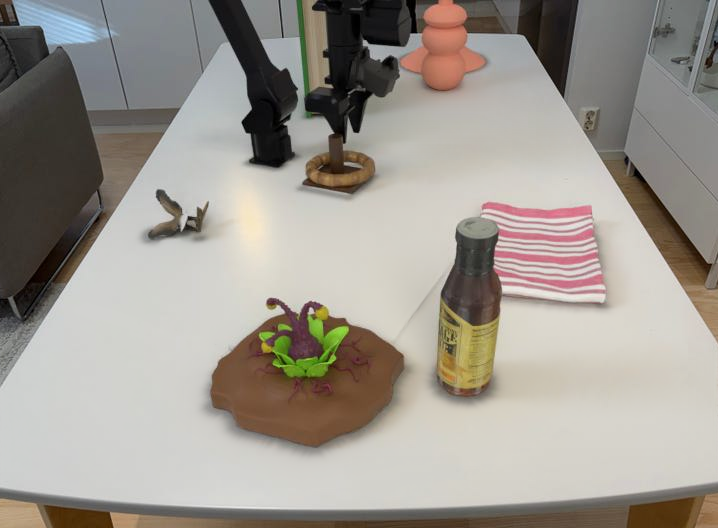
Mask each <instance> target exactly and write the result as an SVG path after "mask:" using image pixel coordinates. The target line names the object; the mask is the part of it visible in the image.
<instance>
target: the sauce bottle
mask: <svg viewBox="0 0 718 528" xmlns="http://www.w3.org/2000/svg"><path fill="white" fill-rule="evenodd" d="M498 237H499V227H498V226H497V224H496V223H495V222H494V221H492V220H490V219H486V218H482V217H480V216H474V217H473V216H472V217H467V218H464V219H462V220H460V221H459V222H458V223H457V224H456V228H455V235H454V238H455V242H456V246H455V247H456V248H455V258H454V262H453V265H452V267H451V269H450V271H449V274H448V276H447V278H446V280H445V282H444V284H443V286H442V288H441V290H440V298H439V313H438V331H437V347H436V348H437V349H436V351H437V352H436V372H437V374H436V375H437V376H436V377H437V382H438V383H439V385H440V386H441V387H442V388H443V389H444V390H446V392H448V393H449V394H451V395H453V396H462V397H471V396H476V395H478V394H482V393H483V392H484V391H486V390H487V389H488V387H489V385H490V381H491V378H492V375H493V372H494V371H493V370H494V365H495V356H496V349H497V341H498V333H499V326H500V318H501V301H502V296H503V295H502V286H501V282H500V279H499V276H498V274H497V273H496V272H495V270H494V269H493V267H494V264H495V262H494V254H495V245H496V244H497V242H498Z"/></svg>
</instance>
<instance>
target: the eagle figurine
mask: <svg viewBox="0 0 718 528" xmlns="http://www.w3.org/2000/svg"><path fill="white" fill-rule="evenodd" d="M155 198H156V200H157V202H159V205H161V207H162V208H163V210H164V211H165V212H166V213H167V214H169V215H171V216H172V217H173V219H171V220H167V221H164V222H159V223H158V224H156V225H155V227H154V228H153V229H151V230H149V231H148V233H147V235H148V236H147V237H148V238H149V239H155V238H157V237H163V236H164V237H170V236H172V235H174V234H175V232H176V231H177V229H180V232H181V233H182V232H183V230H184V229H185V230H188V231H192V232H195V233H196V234H200V233H201V232H202V231H201V230H202V227H203V220H204V219H205V216H206V214H207V212H208V209H209V206H210V205H209V204H210V201H209V200H207V201H206V203H205V205H204V207H203V209H202V208H201V207H199V206H196V216H192V215H189V213H188V211H187V210H185V211H184V210H183V207H182V206H181V205H180V204H179V203H178V202H177V201H176V200H173V199H171V197H170V196H169V195H168V194H167V193H166V190H164V189H161V188H160V189H159V188H157V189H156V190H155ZM183 211H184V213H183ZM192 221H194V223H195V227H194V226H193V225H191V224H189V223H188V222H192Z"/></svg>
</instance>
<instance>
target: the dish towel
mask: <svg viewBox="0 0 718 528" xmlns="http://www.w3.org/2000/svg"><path fill="white" fill-rule="evenodd" d="M592 209H593V207H592V205H591V204H586V205H579V206H575V207H561V208H555V209H542V208H525V207H517V206H512V205H509V204H506V203H500V202H493V201H488V202H485V203H482V205H481V212H480V215H479V217H482V218H486V219H490V220H492V221H494V222H495V223H496V224H497V226H498V227H499V237H498V242H497V244H496V245H495V254H494V262H495V264H494V267H493V269H494V270H495V272H496V273H497V274H498V276H499V279H500V282H501V286H502V295H501V296H507V297H508V296H509V297H516V298H517V297H518V298H525V299H535V300H542V301H543V300H546V301H553V302H563V303H581V304H582V303H583V304H598V305H599V304H600V305H602V304H604V303H605V301H606V297H607V293H606V292H607V288H606V286H605V283H604V280H603V271H602V266H601V263H600V259H599V256H598V255H599V250H598V244H597V242H596V240H597V239H596V237H595V235H594V234H595V233H594V231H595V222H594V220H595V219H594V216H593V210H592Z"/></svg>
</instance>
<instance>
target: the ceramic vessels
mask: <svg viewBox="0 0 718 528" xmlns="http://www.w3.org/2000/svg"><path fill="white" fill-rule="evenodd" d="M422 18H423V20H424V22H425V24H426V25H427V26H425V28H424V29H423V31H422V33H421V43H422V45H421V46H419V47H418V48H416V49H414V50H413V51H412V52H410V53H408V54H407V55H405V56H403V57H402V59H401V60H400V65H401V67H402V68H404V69H406V70H408V71H411V72H414V73H419V74H421V77H422V79H423V81H424V82H425V83H426V84H427V85H428V87H430V88H431V89H434V90H438V91H448V90H451V89H454V88H455V87H456V86H457V85H459V84H460V83H461V82H462V81H463V79H464V77H465V75H466V73H470V72H474V71H476V70H478V69H481V68H482V67H483V66H485V64H486V60H485V58H484V57H483V56H481V55H480V54H478V53H477V52H475V51H473V50H472V49H470V48H469V47H468V46H466V44H467V43H468V32H467V30H466V28H465V27H464V25H463V24H465V22H466V20H467V18H468V15H467V11H466V10H465V9H464V7H462V6H460V4H459V5H458V4H456V3H454V0H438V3H437V4H433V5H431V6H429V7H428V8H427V9H426V10H425V11H424V13H423V17H422Z"/></svg>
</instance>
